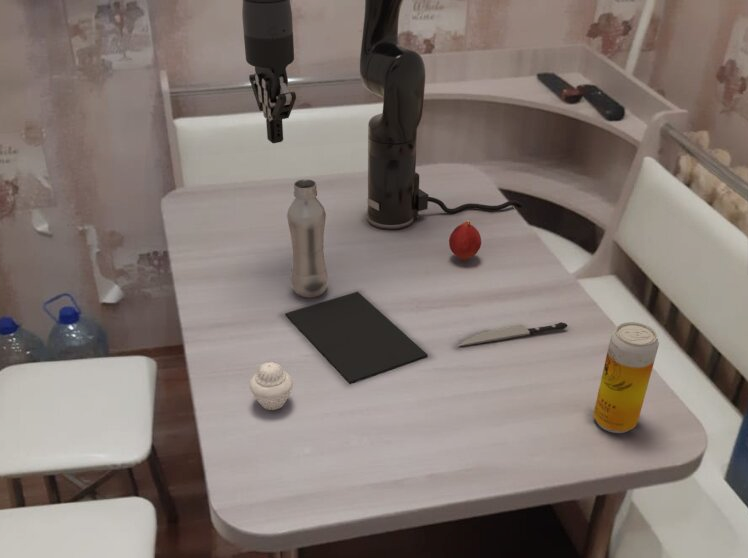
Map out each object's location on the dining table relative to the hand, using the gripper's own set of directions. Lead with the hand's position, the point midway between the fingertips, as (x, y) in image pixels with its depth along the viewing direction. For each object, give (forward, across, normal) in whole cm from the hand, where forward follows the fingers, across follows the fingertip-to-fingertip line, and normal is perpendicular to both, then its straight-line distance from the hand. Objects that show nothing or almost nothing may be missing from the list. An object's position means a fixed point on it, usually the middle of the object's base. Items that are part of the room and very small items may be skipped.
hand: (275, 141), depth 137 cm
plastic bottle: (+24, -10, 0) cm, 26 cm away
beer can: (+24, -64, -21) cm, 71 cm away
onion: (+24, -14, -30) cm, 41 cm away
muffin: (+24, -36, +19) cm, 47 cm away
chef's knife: (+24, -38, -22) cm, 50 cm away
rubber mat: (+24, -26, 0) cm, 35 cm away
